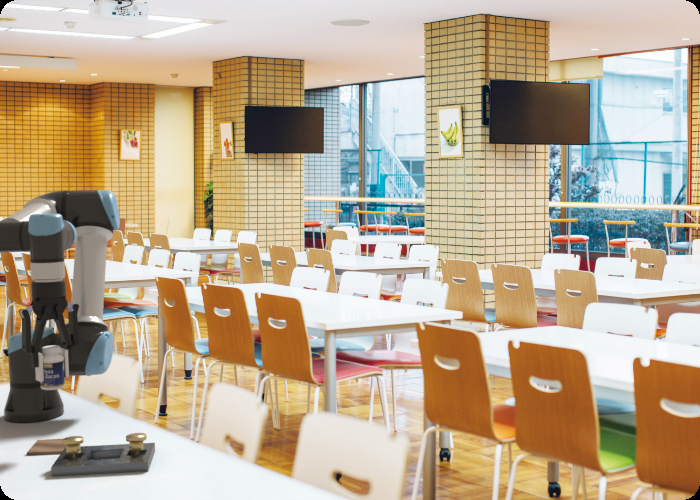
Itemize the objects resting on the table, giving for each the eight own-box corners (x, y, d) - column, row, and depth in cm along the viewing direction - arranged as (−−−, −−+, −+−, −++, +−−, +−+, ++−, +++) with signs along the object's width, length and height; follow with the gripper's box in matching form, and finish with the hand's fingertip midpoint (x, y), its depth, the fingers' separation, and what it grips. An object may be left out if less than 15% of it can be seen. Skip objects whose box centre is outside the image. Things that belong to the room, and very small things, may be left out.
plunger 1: (65, 453, 186) (64, 436, 186) (85, 452, 186) (85, 435, 186) (61, 459, 182) (60, 442, 181) (81, 458, 182) (81, 441, 182)
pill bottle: (41, 391, 193) (39, 349, 192) (39, 386, 198) (38, 345, 197) (66, 389, 195) (64, 347, 194) (63, 384, 200) (62, 343, 199)
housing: (65, 455, 191) (65, 447, 191) (155, 451, 193) (154, 442, 193) (51, 476, 177) (51, 467, 177) (148, 471, 179) (147, 461, 179)
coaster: (37, 442, 202) (37, 439, 201) (80, 440, 203) (80, 437, 203) (26, 455, 192) (26, 452, 192) (72, 452, 193) (71, 450, 193)
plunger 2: (128, 450, 188) (127, 433, 187) (148, 449, 188) (147, 432, 188) (125, 456, 183) (124, 439, 183) (145, 455, 184) (145, 438, 184)
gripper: (79, 275, 203) (82, 369, 205) (2, 282, 191) (6, 382, 193) (92, 277, 198) (96, 374, 200) (14, 284, 185) (19, 388, 187)
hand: (52, 378), depth 196 cm, fingers closed on pill bottle, 5 cm apart
